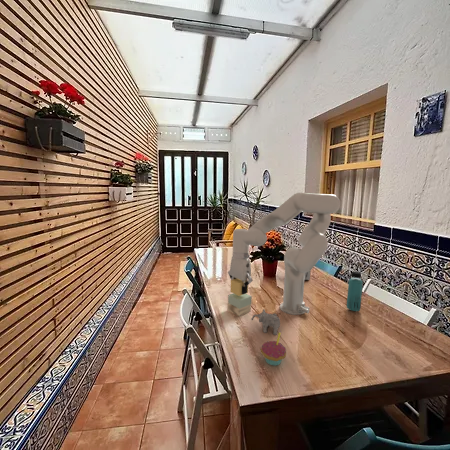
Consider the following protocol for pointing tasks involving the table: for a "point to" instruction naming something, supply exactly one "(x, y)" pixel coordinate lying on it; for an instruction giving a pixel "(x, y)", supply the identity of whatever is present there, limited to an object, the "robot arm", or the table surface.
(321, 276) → the table surface
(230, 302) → the pale green square block
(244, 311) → the tower base
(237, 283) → the block
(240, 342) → the table surface
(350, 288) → the beverage bottle
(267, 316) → the gray elephant figurine
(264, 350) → the cupcake
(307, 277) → the icon cube
